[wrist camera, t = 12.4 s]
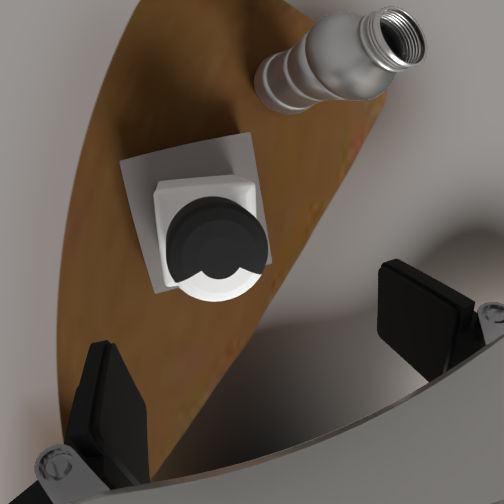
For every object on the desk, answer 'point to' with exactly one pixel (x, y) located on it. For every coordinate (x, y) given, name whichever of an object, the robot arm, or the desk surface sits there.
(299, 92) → the plastic bottle
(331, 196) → the desk surface
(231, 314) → the desk surface
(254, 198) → the medicine bottle
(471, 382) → the robot arm
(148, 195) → the base block
